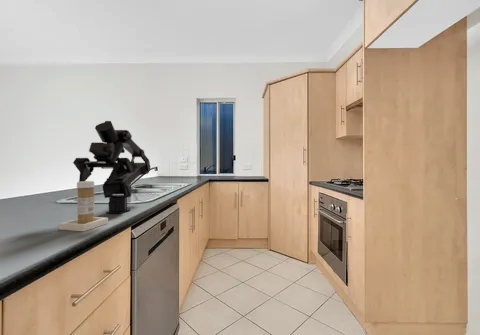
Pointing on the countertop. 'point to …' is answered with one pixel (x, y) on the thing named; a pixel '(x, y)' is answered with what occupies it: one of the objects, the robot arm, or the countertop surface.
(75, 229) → the tray
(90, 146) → the robot arm
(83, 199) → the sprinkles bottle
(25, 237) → the countertop surface
